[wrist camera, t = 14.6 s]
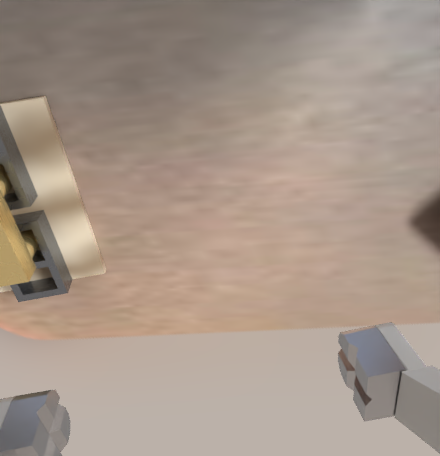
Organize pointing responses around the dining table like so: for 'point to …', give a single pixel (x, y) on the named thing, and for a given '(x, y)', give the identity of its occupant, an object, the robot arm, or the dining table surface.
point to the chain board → (53, 187)
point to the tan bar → (14, 242)
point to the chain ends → (31, 223)
